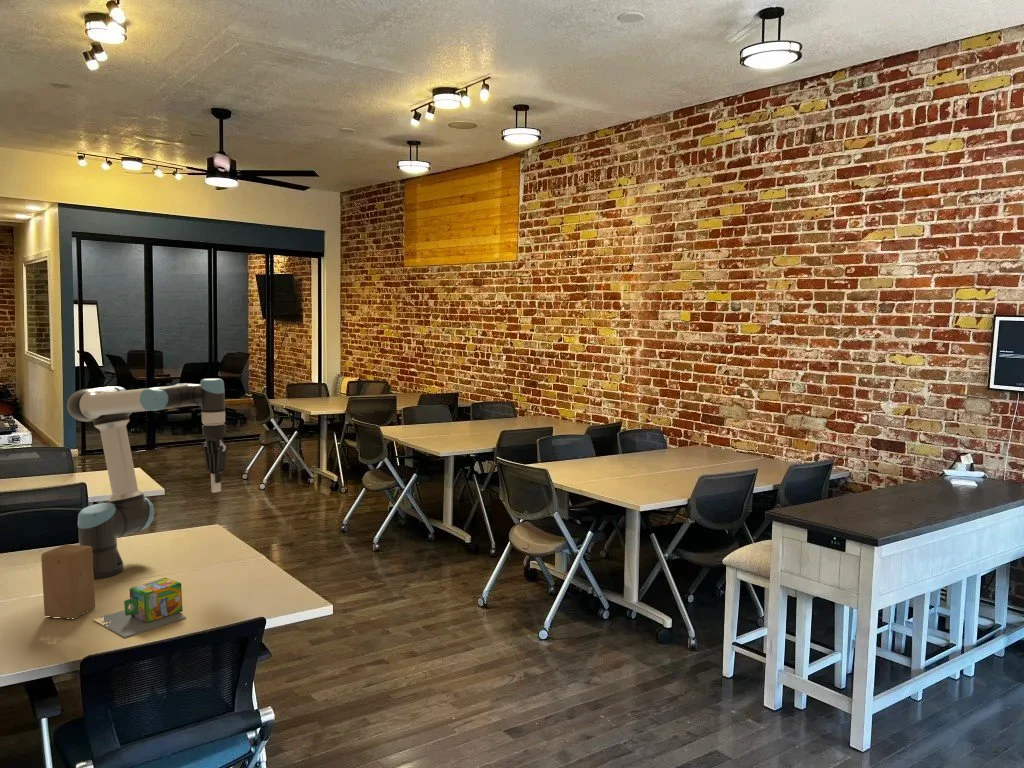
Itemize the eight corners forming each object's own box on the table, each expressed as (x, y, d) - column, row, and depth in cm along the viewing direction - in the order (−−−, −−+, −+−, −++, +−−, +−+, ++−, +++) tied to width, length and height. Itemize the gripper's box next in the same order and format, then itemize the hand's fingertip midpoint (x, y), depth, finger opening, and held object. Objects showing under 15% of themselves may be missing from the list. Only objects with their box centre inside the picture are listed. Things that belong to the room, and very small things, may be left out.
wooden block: (72, 621, 226) (68, 555, 224) (43, 618, 228) (39, 553, 226) (96, 608, 236) (93, 545, 234) (68, 606, 238) (65, 543, 236)
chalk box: (183, 611, 232) (135, 628, 220) (167, 605, 238) (119, 621, 226) (181, 581, 232) (133, 597, 220) (165, 576, 237) (117, 590, 225)
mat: (93, 620, 227) (93, 619, 227) (153, 602, 241) (153, 601, 240) (124, 638, 214) (124, 636, 214) (186, 618, 228) (186, 617, 228)
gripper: (234, 424, 261) (236, 492, 263) (213, 421, 269) (216, 487, 271) (213, 426, 255) (216, 496, 257) (193, 423, 263) (196, 490, 265)
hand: (216, 491), depth 264 cm, fingers closed
